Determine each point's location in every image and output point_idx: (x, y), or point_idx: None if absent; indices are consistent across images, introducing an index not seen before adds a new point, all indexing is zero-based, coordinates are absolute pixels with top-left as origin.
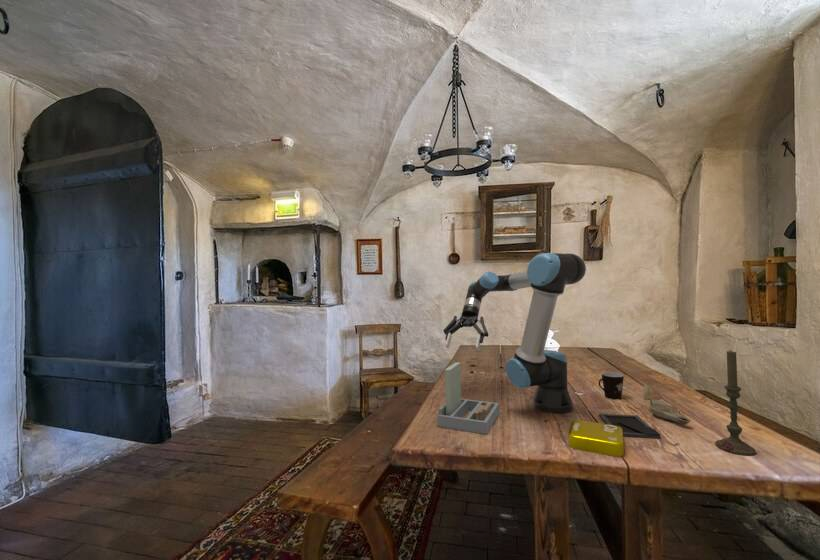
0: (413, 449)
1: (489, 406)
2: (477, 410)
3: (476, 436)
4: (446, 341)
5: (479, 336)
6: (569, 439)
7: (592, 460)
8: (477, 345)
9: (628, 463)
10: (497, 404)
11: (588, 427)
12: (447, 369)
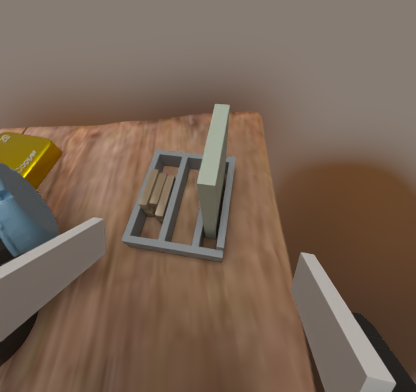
0: (243, 113)
1: (143, 191)
2: (168, 187)
3: None
4: (323, 272)
5: (7, 263)
6: (55, 146)
7: (54, 131)
8: (88, 221)
9: (20, 133)
10: (125, 232)
11: (9, 164)
12: (222, 107)
